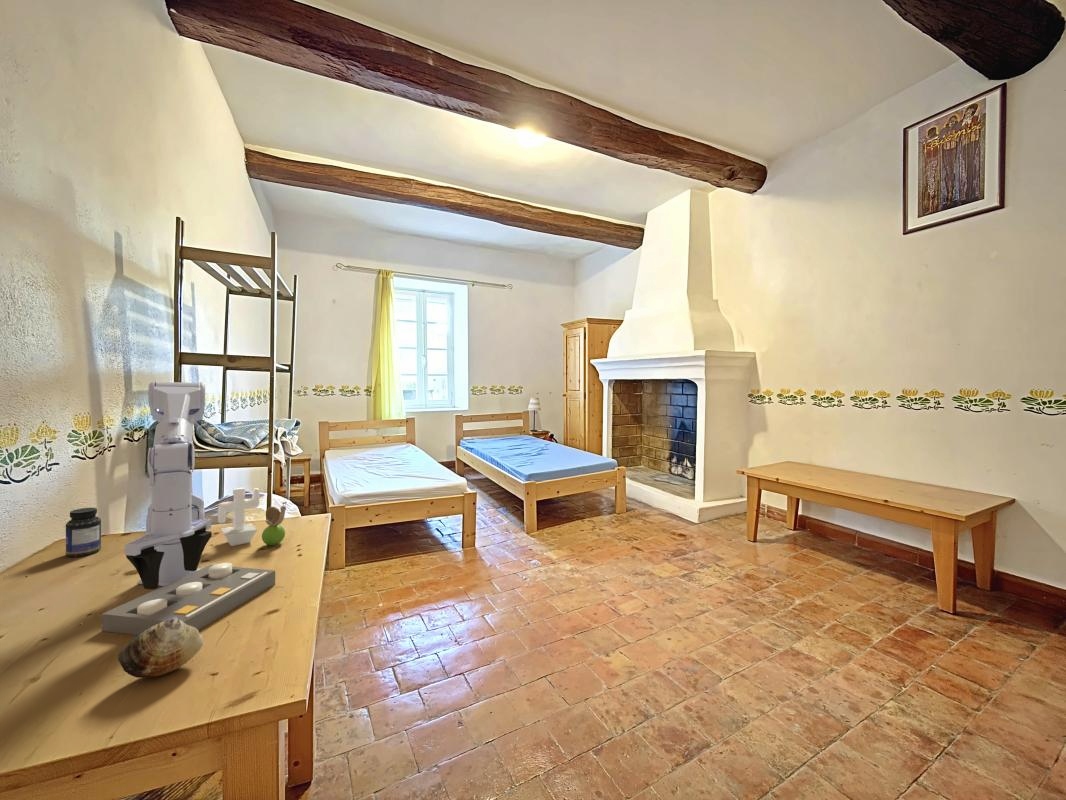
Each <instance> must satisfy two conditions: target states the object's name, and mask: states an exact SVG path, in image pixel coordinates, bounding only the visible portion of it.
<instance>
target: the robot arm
mask: <svg viewBox="0 0 1066 800" xmlns="http://www.w3.org/2000/svg"><path fill="white" fill-rule="evenodd" d="M147 393H148V394H147V395H148V396H147V397H148V398H147V399H148V400H147V401H148V407H149V411H150V412H149V413H150V415H151V417H152V420H153V421H156V422H158V423H157V425H156V426H155V430H154V437H153V438H154V439H153V445H152V447H148V448H149V449H148V452H147V471H148V474H149V486H150V487H151V503H150V504H149V506H148V507H147V515H146V519H145V535H143V536H140V537H139V538H137V539H135V540H132V541H130V542H127V543H125V544H124V555H125V556H126V559H127V560H128V561H129V562H130V563H131V564H132V566H133V567H134V568H135V569H136V571H137V573H138V576H139V577H140V580H138V581H137V582H136V583H137V584H139V585H142V586H143V589H144V590H151V591H154V590H156V589H158V588H159V587H163V586H165V585H167V584H169V583H171V582H174V581H176V580H178V579H180V578H182V577H185V576H187V575H189V574H191V573H194V572H196V571H198V570H200V569H201V568H198V567H199V563H200V562H201V561H200V560H201V557H202V554H203V552H204V550H205V548H206V546H207V544H208V543H209V541H210V540H211V538H212V536H213V535H212V533H213V532H212V531H211V530H210V529H211V528H212V519H211V518H206V515H205V501H204V500H203V498H202V497H201V496H198V495H196V494H194V493H192V489H193V487H192V483H193V481H192V478H193V475H192V473H194V471H195V464H196V463H195V461H196V459H195V457H196V456H195V454H196V453H195V451H196V450H195V449H196V448H195V445H194V441H193V436H194V435H193V431H194V430H193V429H194V427H193V425H194V423H196V422H199V421H201V420H203V419H204V415H205V407H206V384H205V383H203V382H202V381H200V382H185V381H184V382H183V381H181V382H180V381H179V382H177V381H173V382H172V381H156V380H153V381H151V382H150V383H149V384H148V391H147ZM190 468H191V471H190Z"/></svg>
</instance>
